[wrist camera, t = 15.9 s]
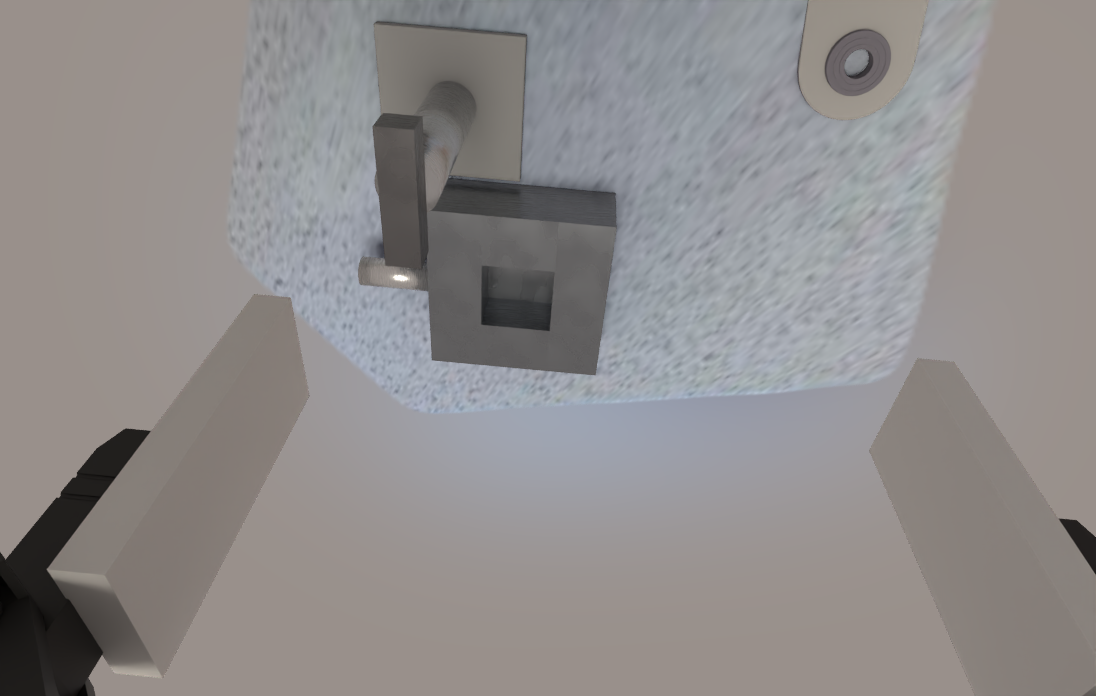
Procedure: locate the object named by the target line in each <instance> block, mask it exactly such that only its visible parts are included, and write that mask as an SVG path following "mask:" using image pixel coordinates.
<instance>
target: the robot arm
mask: <svg viewBox="0 0 1096 696" xmlns="http://www.w3.org/2000/svg"><path fill="white" fill-rule="evenodd" d="M308 398H309V391H308V386H307V380H306V375H305V370H304V365H303V360H302V354H301V349H300V345H299V339H298V334H297V328H296V323H295V318H294V313H293V307H292V302H291V298H290V297H279V296H269V295H258V294H254V295H253V296H252V298H251V299H250V300H249V302H248V303H247V304H246V306H245V307H244V308H243V310H242V311H241V313H240V314H239V315H238V316H237V318H236V319H235V320H234V322H233V323H232V324H231V326H230V327H229V328H228V330H227V331H226V332H225V334H224V335H223V336H222V338H221V339H220V340H219V342H218V343H217V344H216V346H215V347H214V348H213V349H212V351H211V352H210V353H209V355H208V356H207V357H206V359H205V360H204V362H203V363H202V364H201V366H200V367H199V368H198V369H197V371H196V372H195V373H194V375H193V376H192V378H191V379H190V380H189V381H188V383H187V384H186V385H185V387H184V388H183V389H182V391H181V392H180V393H179V395H178V396H177V397H176V399H175V400H174V401H173V403H172V404H171V405H170V407H169V408H168V409H167V411H166V412H165V414H164V415H163V416H162V417H161V419H160V420H159V421H158V423H157V424H156V425H155V427H154V428H153V429H152V430H151V431H146V430H135V429H124V430H123V431H121V432H120V433H118V434H117V435H116V436H114V437H113V438H111V439H110V440H108V441H107V442H106V443H104V444H103V445H101V446H100V447H98V448H97V449H96V450H95V451H94V453H93V454H92V455H91V456H90V457H89V459H88V460H87V461H86V462H85V464H84V465H83V466H82V467H81V468H80V470H79V471H78V472H77V476H76V478H72V479H71V481H70V482H69V483H68V484H67V486H66V487H65V488H64V489H63V490H62V492H61V496H60V497H59V498H56V499H55V500H54V501H53V503H52V504H51V505H50V506H49V507H48V509H47V510H46V511H45V512H44V514H43V515H42V516H41V517H40V518H39V520H38V521H37V522H36V523H35V524H34V526H33V527H32V528H31V529H30V531H29V532H28V533H27V534H26V535H25V537H24V538H23V539H22V541H21V542H20V543H19V544H18V545H17V546H16V548H15V549H14V550H13V551H12V553H11V554H10V555H9V556H8V557H7V559H6V560H5V558H4V557H3V555H2V554H1V553H0V696H95V692H94V687H93V685H92V684H91V682H90V680H89V678H88V677H89V675H90V674H91V672H92V670H93V669H94V667H95V665H96V664H97V662H98V660H99V659H100V657H101V655H103V657H104V658H105V660H106V661H107V663H108V664H109V666H110V667H111V669H112V671H113V672H114V673H117V674H127V675H137V676H147V677H157V678H163V677H164V675H165V673H166V671H167V669H168V667H169V666H170V664H171V661H172V660H173V658H174V656H175V654H176V652H177V650H178V648H179V646H180V644H181V642H182V640H183V639H184V637H185V635H186V633H187V631H188V629H189V627H190V625H191V623H192V621H193V619H194V617H195V615H196V613H197V612H198V610H199V608H200V606H201V604H202V602H203V600H204V598H205V596H206V594H207V592H208V590H209V588H210V586H211V585H212V583H213V581H214V579H215V577H216V575H217V573H218V571H219V569H220V567H221V565H222V563H223V562H224V559H225V558H226V556H227V554H228V552H229V550H230V548H231V546H232V544H233V542H234V540H235V538H236V536H237V534H238V532H239V531H240V529H241V527H242V525H243V523H244V521H245V519H246V517H247V515H248V513H249V511H250V510H251V508H252V506H253V504H254V502H255V500H256V498H257V496H258V494H259V492H260V490H261V488H262V486H263V484H264V483H265V481H266V479H267V477H268V475H269V473H270V471H271V469H272V467H273V465H274V463H275V461H276V459H277V458H278V456H279V454H280V452H281V450H282V448H283V446H284V444H285V442H286V440H287V438H288V436H289V434H290V432H291V430H292V428H293V427H294V425H295V423H296V421H297V419H298V417H299V415H300V413H301V411H302V409H303V407H304V406H305V403H306V402H307V400H308ZM869 451H870V454H871V456H872V458H873V461H874V463H875V465H876V467H877V470H878V472H879V475H880V477H881V479H882V481H883V484H884V486H885V489H886V491H887V493H888V495H889V498H890V500H891V502H892V505H893V507H894V509H895V511H896V514H897V516H898V519H899V521H900V523H901V525H902V528H903V530H904V533H905V535H906V537H907V539H908V542H909V544H910V546H911V549H912V551H913V553H914V556H915V558H916V560H917V563H918V565H919V567H920V569H921V572H922V574H923V577H924V579H925V581H926V584H927V586H928V588H929V590H930V593H931V595H932V597H933V600H934V602H935V604H936V607H937V609H938V611H939V613H940V616H941V618H942V620H943V623H944V625H945V628H946V630H947V632H948V634H949V637H950V639H951V641H952V644H953V646H954V648H955V651H956V653H957V655H958V658H959V660H960V662H961V664H962V667H963V669H964V671H965V674H966V676H967V678H968V681H969V683H970V685H971V688H972V690H973V692H974V694H975V696H1096V537H1095V536H1094V535H1093V534H1091V533H1090V532H1089V531H1088V530H1087V529H1086V528H1085V527H1084V526H1082V525H1081V524H1080V523H1079V522H1078V521H1077V520H1068V519H1058V517H1057V516H1056V514H1055V513H1054V511H1053V510H1052V508H1051V507H1050V505H1049V504H1048V502H1047V501H1046V499H1045V498H1044V496H1043V495H1042V493H1041V492H1040V490H1039V489H1038V487H1037V486H1036V484H1035V483H1034V481H1033V480H1032V478H1031V477H1030V475H1029V474H1028V472H1027V471H1026V469H1025V468H1024V466H1023V465H1022V463H1021V462H1020V460H1019V459H1018V458H1017V456H1016V454H1015V453H1014V451H1013V450H1012V448H1011V447H1010V445H1009V444H1008V442H1007V441H1006V439H1005V438H1004V436H1003V435H1002V433H1001V432H1000V430H999V429H998V427H997V426H996V424H995V423H994V421H993V420H992V418H991V417H990V415H989V414H988V412H987V411H986V409H985V408H984V406H983V405H982V403H981V402H980V400H979V399H978V397H977V396H976V394H975V393H974V391H973V389H972V388H971V387H970V385H969V383H968V382H967V381H966V379H965V377H964V376H963V374H962V373H961V372H960V370H959V368H958V367H957V365H956V364H955V362H950V361H940V360H929V359H917V360H916V362H915V364H914V366H913V368H912V370H911V371H910V373H909V375H908V377H907V379H906V381H905V383H904V385H903V387H902V389H901V391H900V392H899V395H898V397H897V398H896V400H895V402H894V404H893V406H892V408H891V410H890V412H889V414H888V415H887V417H886V420H885V421H884V423H883V425H882V427H881V429H880V431H879V433H878V435H877V436H876V438H875V440H874V442H873V444H872V446H871V448H870V450H869Z"/></svg>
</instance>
